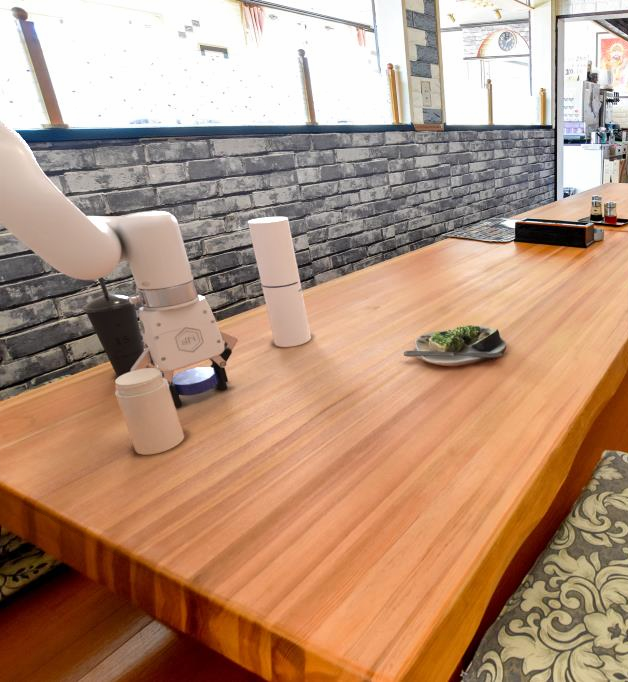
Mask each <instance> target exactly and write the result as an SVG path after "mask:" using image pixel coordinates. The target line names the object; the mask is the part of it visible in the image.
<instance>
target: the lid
mask: <svg viewBox="0 0 628 682" xmlns="http://www.w3.org/2000/svg"><path fill="white" fill-rule="evenodd" d="M218 381H219V379H218V375H217V374H216V370H215V369H214V368H211V366H197V367H191V368H187V369H185V370H182V371H179V372H177V373H176V374H173V377H172V383H173V384H174V385H176V387H177V391H178V394H179V396H184V397H185V396H186V397H187V396H188V397H189V396H196V395H199V394H203V393H206V392H209V391H211V390H212V389H214V388H216V387H217V386H216V385H217V384H218Z"/></svg>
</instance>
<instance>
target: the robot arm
mask: <svg viewBox="0 0 628 682" xmlns="http://www.w3.org/2000/svg"><path fill="white" fill-rule="evenodd" d="M0 224H1V225H2V226H3V227H4V228H5V230H7V231H8V232H9V233H11V234H12V235H13V236H14V237H15V238H16V239H18V241H20V242H21V243H22V244H23V245H25V246H26V247H27V248H29V249H30V250H31V251H32V252H33V253H35V255H37V256H38V257H39V258H40V259H42V260H43V261H44V262H46V264H48V265H49V266H50V267H52V268H53V269H55V270H56V271H58V272H59V273H61V274H63V275H65V276H67V277H69V278H73V279H76V280H82V281H93V280H98V279H99V278H102V277H103V278H105V277H107V276H108V275H109V274H111V273H112V272H113V271H114V270H115V269H116V267H118V265H119V263H123V262H127V263H128V265H129V267H130V270H131V273H132V277H133V280H134V283H135V286H136V288H135V293H133V294H131V295H128V298H129V301H130V303H131V304H135V305H136V304H137V305H141V307H139V308H138V315H139V317H138V318H139V327H140V333H141V338H142V343H143V347H144V352H143V353H142V354H141V356H140V357H139V358H138V360H137V361H136V363H135V364H134V365H133V367H132V368H131V370H130V371H134V370H139V369H144V368H146V367H147V366H148V367H149V364H150V365H151V366H154V367H155V368H157V369H159V370H160V371H161V372H162V377H163V378H165V379H166V380H167V382H168V385H169V388H170V392H171V395H172V398H173V401H174V404H175V408H176V409H179V408H181V407H182V406H183V404H182V400H181V398H180V395H179V394H178V391H177V387H176V385H174V384H173V383H172V377H173V376H174V372H175V371H178V370H181V369H184V368H187V367H190V366H193V365H195V364H196V365H197V364H199V363H202V362H205V361H208V360H209V361H210V362H211V364H210V367H211V368H214V369H215V370H216V374H217V375H218V379H219V381H218V384H217V385H216V386H215V387H217V388H218V389H219V390H221V391H227V390H228V385H227V383H228V382H229V379H228V375H227V372H226V367H227V364H228V363H227V362H228V360H229V359H230V357H231V356H232V354H233V353H232V352H233V350H234V348H235V346H236V345H237V343H238V338H236V337H235V336H232V335H230V334H229V333H225V332H223V331H221V330H220V328H219V326H218V325H219V324H218V323H217V320H216V317H215V315H214V313H213V311H212V309H211V306H210V304H209V302H208V300H207V299H206V297H205V296H204V295H200V294H199V293H198V290H197V286H196V283H195V279H194V275H193V272H192V268H191V264H190V261H189V258H188V254H187V250H186V246H185V242H184V239H183V235H182V231H181V229H180V225H179V221H178V219H177V218H176V216H174V215H173V214H172V213H170V212H167V211H147V212H138V213H132V214H128V215H118V216H117V215H113V216H111V215H109V216H107V215H87V214H85V213H84V212H83V211H81V210H80V209H79V207H78V206H76V205H75V204H74V203H73V202H72V201H71V200H70V199H69V198H68V197H67V196H66V195H65V194H64V193H63V192H62V191H61V190H60V189H58V187H57V186H56V185H55V184H54V183H53V182H52V180H51V179H49V177H48V176H47V175H46V173H45V172H44V171H43V169H42V167H40V165H39V163H38V162H37V160H36V157H35V156H34V154H33V151H32V150H31V148H30V146H29V145H28V143H27V142H26V141H25V140H24V139H23V137H22V136H21V135H20V134H19V133H18V132H17V131H16V130H15V129H14V128H12V127H11V126H10V125H9V124H8V123H7V122H6V121H5V120H4V119H3V118H2V117H0Z"/></svg>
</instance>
